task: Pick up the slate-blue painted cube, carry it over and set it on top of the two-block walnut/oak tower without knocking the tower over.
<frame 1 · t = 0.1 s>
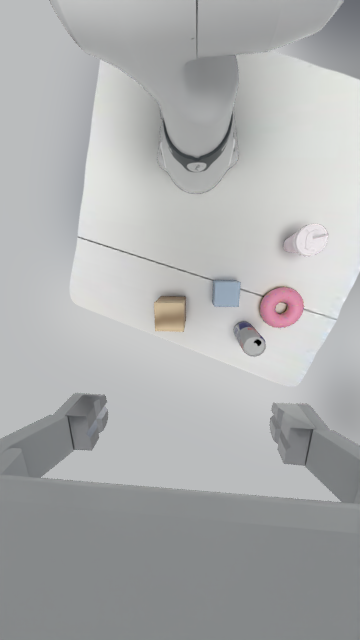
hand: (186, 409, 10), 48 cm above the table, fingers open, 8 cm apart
blue block: (223, 291, 55), on the table
tower top: (171, 312, 53), point 5 cm above the table, touching tower base
smoothie: (290, 244, 51), on the table
energy drink: (242, 330, 58), on the table
tower base: (173, 308, 58), on the table, touching tower top
doughnut: (278, 306, 56), on the table
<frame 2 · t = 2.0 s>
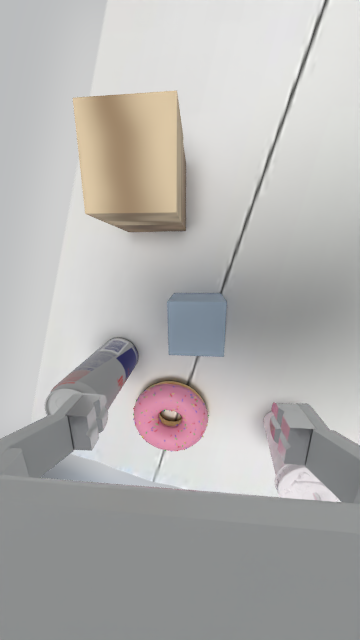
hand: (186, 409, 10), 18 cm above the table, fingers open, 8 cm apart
blue block: (197, 315, 27), on the table
tower top: (145, 184, 19), point 5 cm above the table, touching tower base
smoothie: (275, 419, 30), on the table
energy drink: (121, 353, 30), on the table
tower base: (155, 199, 24), on the table, touching tower top
doughnut: (172, 405, 32), on the table
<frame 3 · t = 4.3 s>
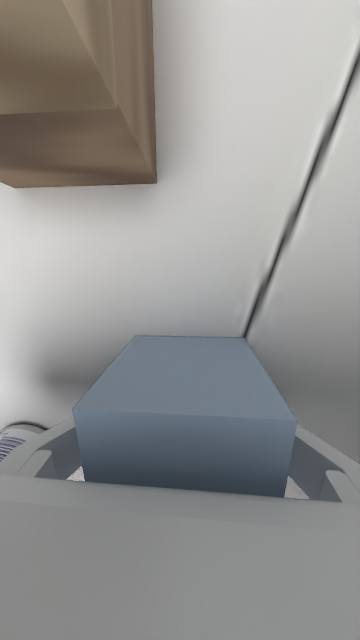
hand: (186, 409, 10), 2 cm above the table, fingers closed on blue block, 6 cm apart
blue block: (188, 384, 12), on the table, touching gripper
energy drink: (35, 449, 15), on the table
tower base: (75, 94, 9), on the table, touching tower top
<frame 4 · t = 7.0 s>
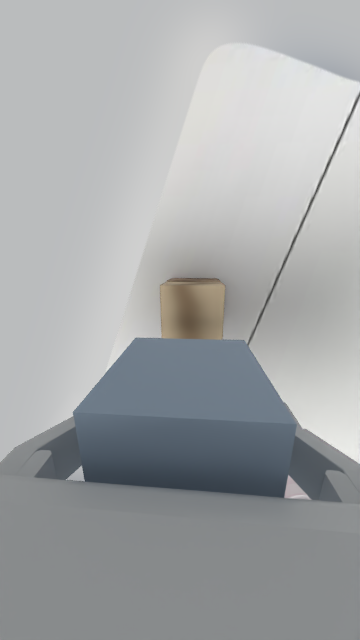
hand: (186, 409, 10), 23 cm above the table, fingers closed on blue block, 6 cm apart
blue block: (188, 386, 12), point 21 cm above the table, touching gripper
tower top: (192, 307, 27), point 5 cm above the table, touching tower base
smoothie: (278, 456, 39), on the table
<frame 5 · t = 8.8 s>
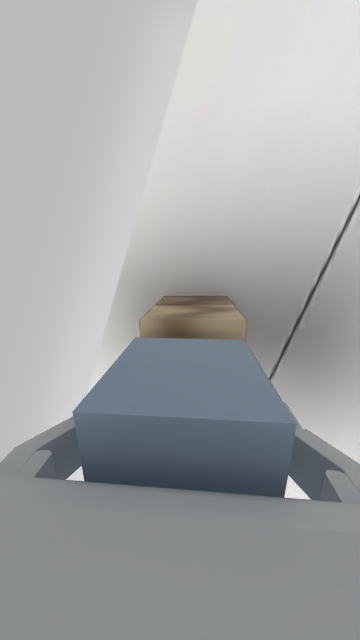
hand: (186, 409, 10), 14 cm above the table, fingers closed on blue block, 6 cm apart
blue block: (188, 386, 12), point 12 cm above the table, touching gripper
tower top: (193, 341, 19), point 5 cm above the table, touching tower base
tower base: (195, 325, 24), on the table, touching tower top
when the fingers open (13 cm above the table, at t = 10.0 s): blue block drops 1 cm, resting on tower top.
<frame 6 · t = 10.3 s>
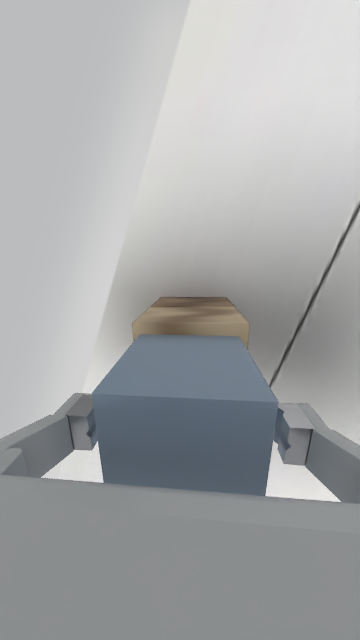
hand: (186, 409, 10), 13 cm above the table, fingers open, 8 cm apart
blue block: (188, 379, 13), point 10 cm above the table, touching tower top
tower top: (191, 345, 18), point 5 cm above the table, touching blue block, tower base
tower base: (192, 328, 23), on the table, touching tower top
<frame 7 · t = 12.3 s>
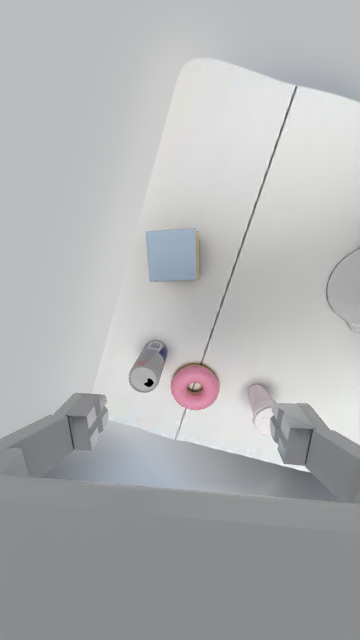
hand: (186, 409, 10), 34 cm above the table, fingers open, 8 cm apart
blue block: (175, 257, 31), point 10 cm above the table, touching tower top
smoothie: (255, 390, 47), on the table
energy drink: (156, 350, 46), on the table
doughnut: (194, 382, 48), on the table
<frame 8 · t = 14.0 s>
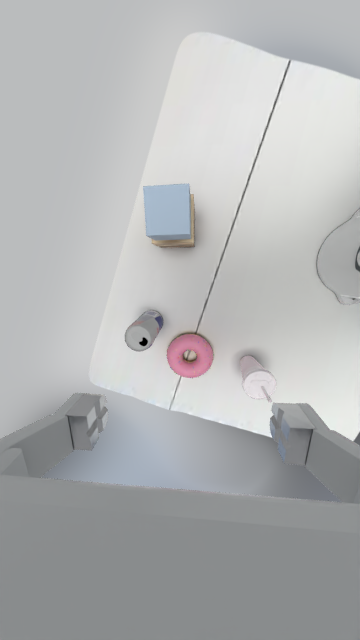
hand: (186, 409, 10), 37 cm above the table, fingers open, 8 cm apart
blue block: (172, 220, 33), point 10 cm above the table, touching tower top
tower top: (175, 225, 38), point 5 cm above the table, touching blue block, tower base
smoothie: (247, 362, 49), on the table
energy drink: (152, 320, 48), on the table
doughnut: (190, 352, 50), on the table
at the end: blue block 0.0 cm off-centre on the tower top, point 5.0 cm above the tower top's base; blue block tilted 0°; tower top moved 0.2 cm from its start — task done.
